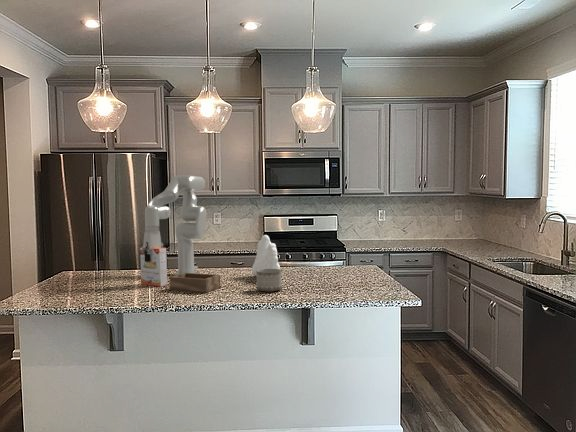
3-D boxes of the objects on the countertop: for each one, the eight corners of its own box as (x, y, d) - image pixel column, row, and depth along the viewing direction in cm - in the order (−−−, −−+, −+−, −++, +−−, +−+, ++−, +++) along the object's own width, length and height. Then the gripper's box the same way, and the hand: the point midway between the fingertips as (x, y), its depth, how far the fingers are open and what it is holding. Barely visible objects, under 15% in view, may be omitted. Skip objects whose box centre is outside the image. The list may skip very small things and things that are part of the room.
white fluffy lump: (251, 275, 307) (250, 234, 305) (277, 274, 309) (276, 233, 308) (255, 283, 282) (254, 238, 280) (283, 282, 285) (283, 237, 283)
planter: (258, 293, 256) (258, 273, 255) (255, 288, 268) (254, 269, 267) (283, 292, 258) (283, 271, 258) (279, 287, 271) (278, 267, 270)
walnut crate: (185, 285, 279) (185, 272, 279) (220, 288, 271) (220, 274, 270) (170, 290, 267) (169, 277, 266) (206, 293, 258) (206, 279, 258)
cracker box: (140, 285, 282) (139, 247, 281) (148, 283, 287) (147, 246, 286) (160, 287, 276) (159, 248, 274) (167, 285, 281) (166, 247, 280)
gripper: (156, 227, 289) (157, 257, 290) (136, 230, 273) (137, 262, 274) (167, 228, 286) (168, 258, 287) (147, 230, 270) (148, 262, 271)
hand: (153, 260), depth 280 cm, fingers open, 9 cm apart
